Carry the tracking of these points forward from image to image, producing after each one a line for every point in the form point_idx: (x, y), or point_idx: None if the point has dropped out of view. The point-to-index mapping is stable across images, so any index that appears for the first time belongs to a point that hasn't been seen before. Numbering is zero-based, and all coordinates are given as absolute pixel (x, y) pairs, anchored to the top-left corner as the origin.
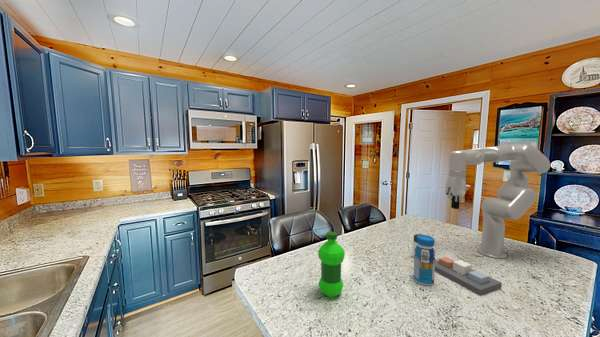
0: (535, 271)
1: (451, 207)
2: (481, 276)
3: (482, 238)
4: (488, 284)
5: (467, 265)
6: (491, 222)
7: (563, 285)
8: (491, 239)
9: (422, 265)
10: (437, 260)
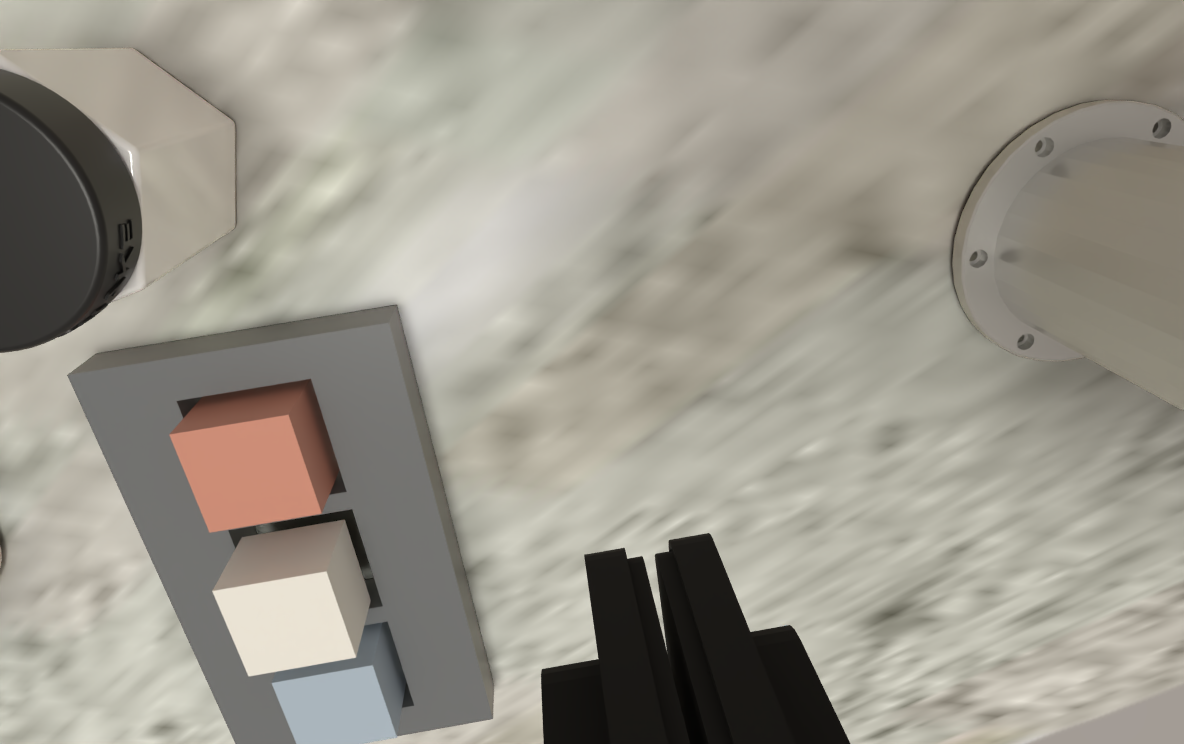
0: (1009, 560)
1: (588, 565)
2: (331, 734)
3: (1133, 224)
4: None
5: (305, 660)
6: None
7: (940, 704)
8: (1123, 356)
9: None
10: (218, 357)
